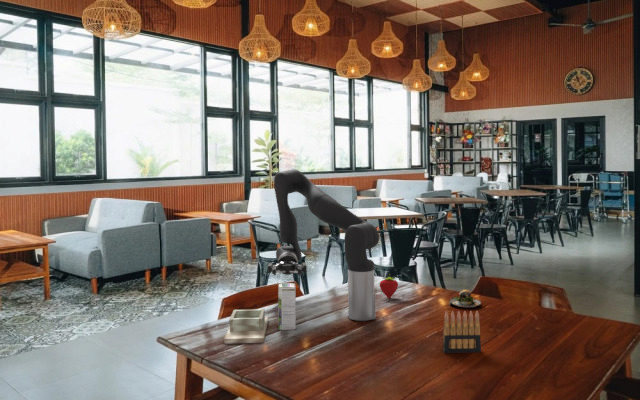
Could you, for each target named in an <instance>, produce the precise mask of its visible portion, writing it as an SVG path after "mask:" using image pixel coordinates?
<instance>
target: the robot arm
mask: <svg viewBox="0 0 640 400" xmlns="http://www.w3.org/2000/svg"><path fill="white" fill-rule="evenodd" d="M273 186H274V193H275V199H276V200H275V201H276V204H277V210H278V211H277V212H278V215H279V238H280V239H279V240H280V241H281V242H283V243H285V244H289V245H287V246H286V245H282V246H279V247H277V249H276V251H275V258H276V261H277V263H276V264H274V263H273V262H269V263H268V264H267V273H268V274H272V275H273V276H276V275H277V274H283V275H286V276H288V275H292V274H297V276H299V275H301V274H302V273H305V274H306V273H307V272H308V271H307V269H308V268H307V267H308V266H307V263H306V262H302V263H301V264H299V262H301V260H302V250H301V247H300V244H299V240H298V221H297V218H296V217H295V214H294V213H293V210H292V209H291V208H290V205H289V200H288V199H289V198H288V197H289V194H293V193H299V194H300V195H302V196H304V197H305V198H306V203H307V207H308V209H309V211H310V213H311V214H313V215H314V216H315V217H316V218H318V219H319V220H320V221H321V222H324V223H325V224H328V225H330V226H333V227H336V228H338V229H341V230H344V231H345V233H344V253H345V255H344V256H345V262H346V264H347V294H348V295H347V298H348V299H347V303H348V305H347V306H348V309H347V310H348V311H347V312H348V318H349V319H350V320H353V321H357V322H366V321H370V320H377V319H376V292H375V262H374V261H373V260H372V259H369V258H368V257H367V251H366V250H370V249H373V248H374V247H376V246H378V244H379V241H380V234H379V231H378V230H377V228H376V227H375V226H374V225H373V224H371V223H370V222H368V221H366V220H364V219H363V218H361V217H359V216H358V215H356V214H355V213H353V212H352V211H350V210H349V209H348V208H346V207H345V206H343V204H341V203H339V202H338V201H337V200H336V199H334V198H333V197H332V196H331V195H329V194H328V193H326V192H324V191H323V190H322V189H320V187H318V186H316V184H314V183H313V182H312V181H311V180H310V179H309V178H308V177H307V176H306V175H304V173H302V172H301V171H300V170H298V169H296V168H295V169H293V168H291V169H286V170H283V171H282V170H281V171H279V172H277V173H276V174H275V176H274V179H273Z"/></svg>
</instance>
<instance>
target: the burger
mask: <svg viewBox="0 0 640 400" xmlns="http://www.w3.org/2000/svg"><path fill="white" fill-rule="evenodd" d="M451 305H453V306H455V307H460V308H475V307H477V306H479V307H480V308H482V301H480V300H479V299H475V298H474V297H473V296H472V292H471V291H470V290H468V289H462V290H461V291H460V292H459V295H455V296H453V298H450V299H449V304H448V306H449V307H451Z"/></svg>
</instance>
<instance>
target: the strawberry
mask: <svg viewBox="0 0 640 400" xmlns="http://www.w3.org/2000/svg"><path fill="white" fill-rule="evenodd" d="M388 275H389V276H387V277H382V280H381V281H380V282H379V288H380V290H381V291H382V293H383V294H384V295H385V296H386V298H387V299H391V298H392V296H393V295H394V294H395V293H396V291H397V289H398V288H399V283H398V281H397V280H396V279H397V278H395V277H391V274H390V273H388Z"/></svg>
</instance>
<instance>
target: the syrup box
mask: <svg viewBox="0 0 640 400" xmlns="http://www.w3.org/2000/svg"><path fill="white" fill-rule="evenodd" d="M296 292H297V291H296V283H292V282H291V283H290V282H284V283H278V293H277V295H278V296H277V297H278V299H277V301H278V303H277V310H278V314H277V316H278V320H277V321H278V330H279V331H290V330H296V325H297V323H296V322H297V321H296V320H297V319H296V318H297V317H296V315H297V313H296V311H297V310H296V308H297V307H296V303H297V302H296V301H297V300H296V296H297V295H296Z"/></svg>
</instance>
